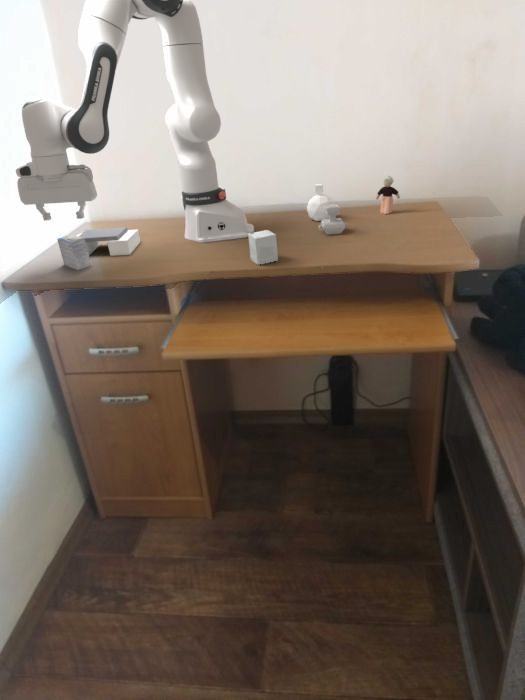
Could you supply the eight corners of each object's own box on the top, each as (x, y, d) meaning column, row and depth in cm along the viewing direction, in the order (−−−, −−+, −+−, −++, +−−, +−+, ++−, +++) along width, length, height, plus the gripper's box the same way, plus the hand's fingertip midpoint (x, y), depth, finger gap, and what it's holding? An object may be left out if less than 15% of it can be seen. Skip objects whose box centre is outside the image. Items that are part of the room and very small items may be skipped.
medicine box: (92, 267, 150) (85, 237, 146) (78, 272, 147) (70, 241, 143) (78, 263, 155) (70, 234, 151) (64, 267, 152) (56, 238, 148)
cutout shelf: (140, 245, 167) (137, 225, 164) (130, 256, 156) (126, 236, 153) (83, 248, 168) (78, 229, 165) (68, 260, 158) (63, 240, 155)
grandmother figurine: (375, 216, 174) (376, 177, 168) (375, 214, 177) (376, 175, 171) (399, 216, 172) (401, 175, 167) (398, 213, 176) (400, 173, 170)
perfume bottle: (308, 219, 179) (306, 182, 173) (335, 217, 177) (334, 181, 172) (306, 225, 171) (304, 188, 165) (334, 224, 170) (334, 186, 164)
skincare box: (278, 261, 141) (276, 234, 138) (257, 265, 140) (255, 238, 136) (270, 255, 146) (268, 229, 143) (249, 259, 145) (247, 233, 141)
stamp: (319, 237, 158) (318, 209, 154) (317, 232, 164) (316, 204, 160) (349, 235, 158) (349, 206, 154) (346, 229, 163) (345, 202, 160)
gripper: (94, 162, 140) (104, 214, 146) (20, 166, 142) (34, 218, 148) (85, 165, 135) (97, 219, 141) (9, 170, 136) (23, 223, 142)
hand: (64, 219), depth 144 cm, fingers open, 8 cm apart
